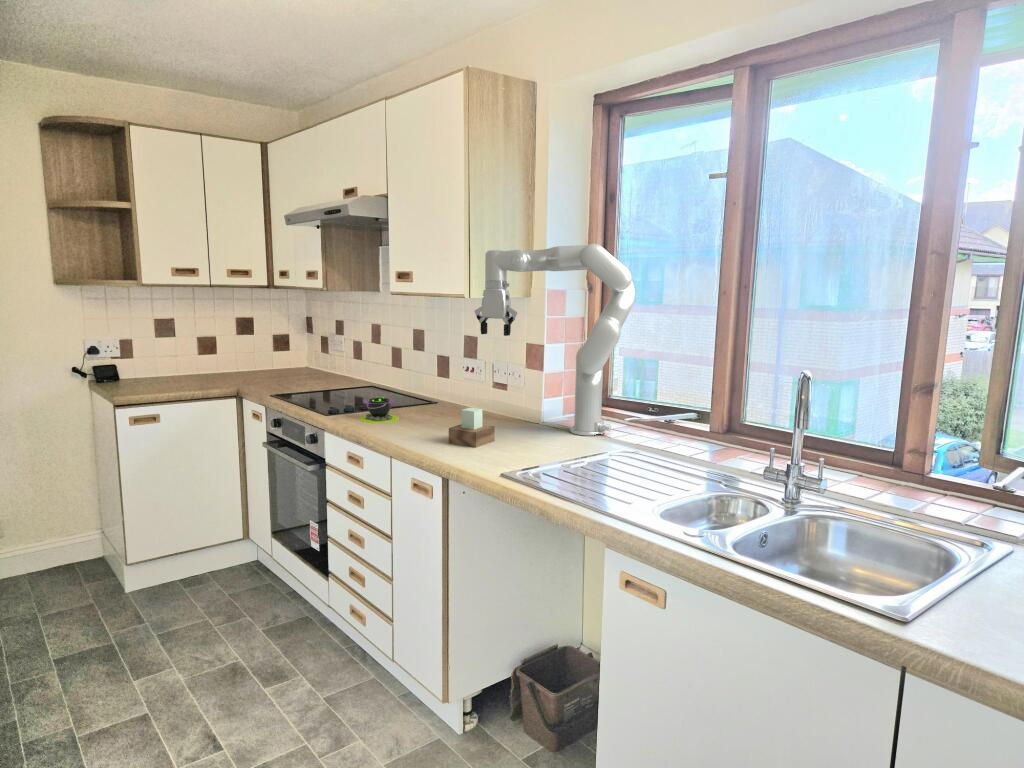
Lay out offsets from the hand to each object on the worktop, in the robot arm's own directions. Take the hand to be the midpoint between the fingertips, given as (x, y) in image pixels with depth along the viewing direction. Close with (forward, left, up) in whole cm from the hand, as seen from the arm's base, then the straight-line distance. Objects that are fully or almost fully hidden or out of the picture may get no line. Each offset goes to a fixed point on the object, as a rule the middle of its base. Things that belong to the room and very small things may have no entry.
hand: (495, 334), depth 237 cm
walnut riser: (-4, +20, -34) cm, 40 cm away
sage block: (-4, +20, -29) cm, 36 cm away
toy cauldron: (+46, +11, -35) cm, 59 cm away
